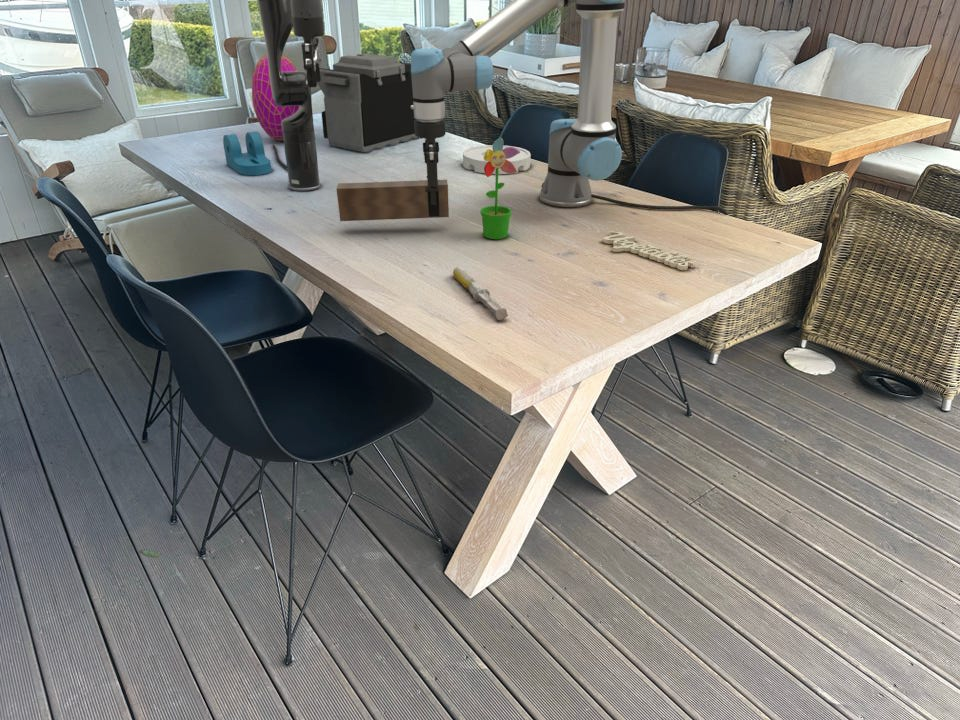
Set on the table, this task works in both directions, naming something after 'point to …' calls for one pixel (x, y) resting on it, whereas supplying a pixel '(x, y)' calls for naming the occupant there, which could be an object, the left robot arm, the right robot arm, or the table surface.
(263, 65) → the decorative egg
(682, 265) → the decorative sign
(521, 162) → the ashtray
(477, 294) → the syringe
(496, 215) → the potted flower
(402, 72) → the cooler box
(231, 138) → the camera mount
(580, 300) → the table surface
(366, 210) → the bar
